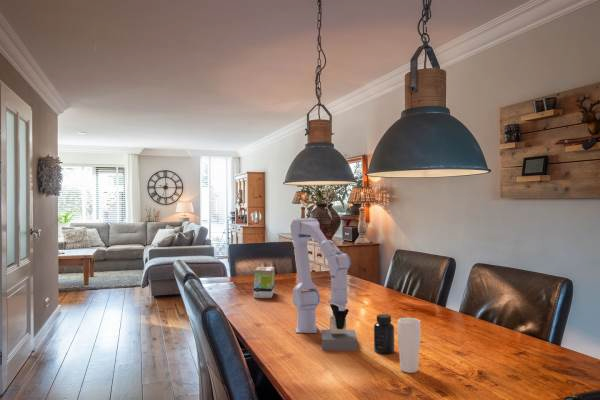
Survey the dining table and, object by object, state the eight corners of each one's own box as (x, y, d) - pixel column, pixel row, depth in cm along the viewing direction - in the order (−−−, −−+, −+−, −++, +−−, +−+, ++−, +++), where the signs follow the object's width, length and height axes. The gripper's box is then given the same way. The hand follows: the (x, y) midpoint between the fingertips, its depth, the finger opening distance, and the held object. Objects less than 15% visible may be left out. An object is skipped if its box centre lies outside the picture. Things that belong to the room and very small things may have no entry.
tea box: (272, 298, 234) (272, 270, 234) (253, 298, 235) (253, 270, 235) (274, 292, 249) (274, 266, 250) (256, 292, 250) (256, 266, 250)
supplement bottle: (380, 346, 156) (380, 312, 156) (397, 350, 151) (398, 315, 151) (370, 351, 150) (370, 316, 150) (388, 356, 146) (388, 319, 146)
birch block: (330, 329, 160) (330, 315, 160) (343, 329, 160) (343, 315, 160) (331, 333, 155) (331, 319, 155) (346, 333, 155) (345, 319, 155)
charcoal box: (321, 340, 164) (321, 329, 164) (354, 341, 163) (354, 330, 163) (321, 351, 152) (321, 339, 152) (357, 352, 151) (357, 340, 151)
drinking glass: (416, 366, 137) (416, 317, 137) (423, 374, 130) (423, 323, 130) (394, 366, 137) (395, 317, 137) (400, 374, 130) (400, 323, 130)
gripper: (325, 284, 165) (325, 321, 164) (330, 292, 150) (330, 332, 150) (344, 284, 165) (344, 321, 165) (350, 292, 150) (350, 332, 150)
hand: (338, 326), depth 157 cm, fingers open, 5 cm apart
